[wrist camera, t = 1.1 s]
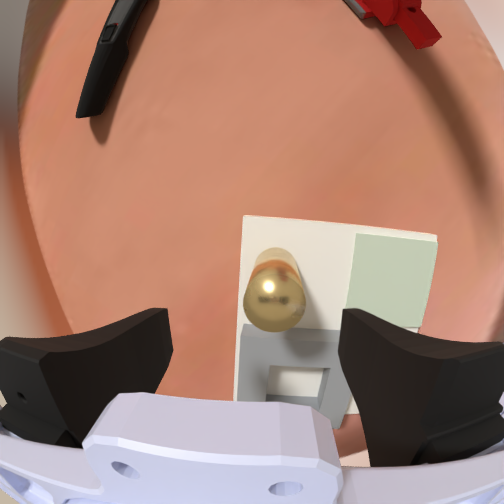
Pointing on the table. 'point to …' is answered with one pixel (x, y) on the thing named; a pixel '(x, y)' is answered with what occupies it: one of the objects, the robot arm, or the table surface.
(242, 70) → the table surface
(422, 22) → the tool
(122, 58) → the electric trimmer
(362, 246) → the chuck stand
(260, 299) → the brass cylinder
